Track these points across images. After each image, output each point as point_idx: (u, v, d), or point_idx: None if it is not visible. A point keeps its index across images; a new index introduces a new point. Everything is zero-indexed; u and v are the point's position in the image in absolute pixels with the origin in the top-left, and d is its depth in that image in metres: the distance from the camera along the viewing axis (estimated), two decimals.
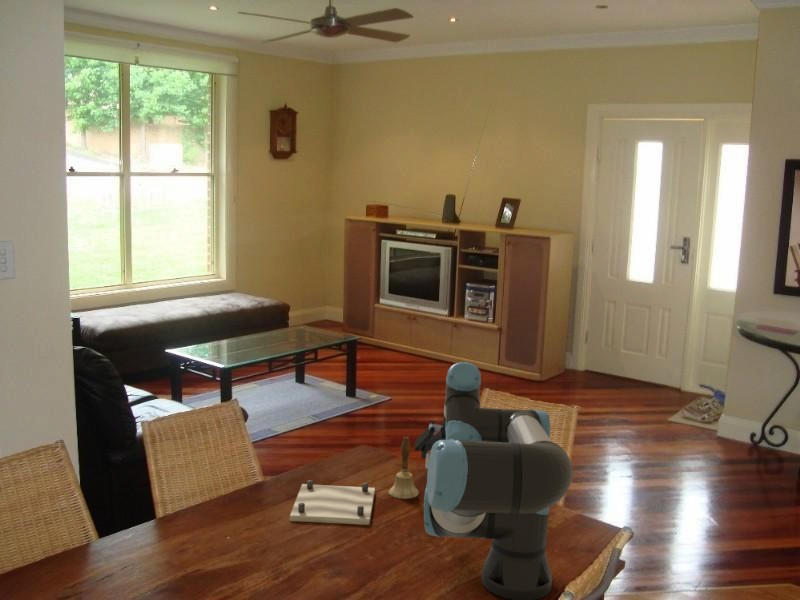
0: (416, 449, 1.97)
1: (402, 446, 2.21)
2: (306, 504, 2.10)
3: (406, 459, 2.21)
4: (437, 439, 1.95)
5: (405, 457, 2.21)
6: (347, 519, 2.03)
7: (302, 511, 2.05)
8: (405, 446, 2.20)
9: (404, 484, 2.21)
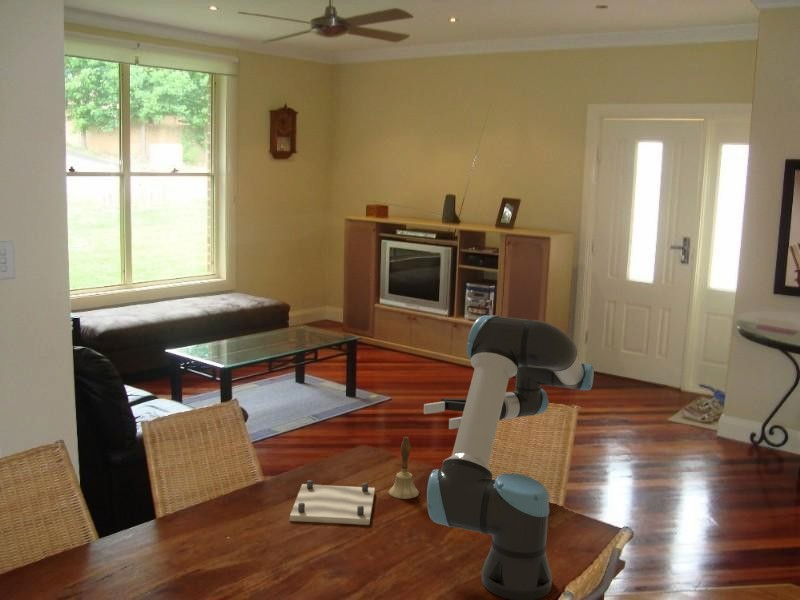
0: (443, 398, 2.36)
1: (402, 446, 2.21)
2: (306, 504, 2.10)
3: (406, 459, 2.21)
4: None
5: (405, 457, 2.21)
6: (347, 519, 2.03)
7: (302, 511, 2.05)
8: (405, 446, 2.20)
9: (404, 484, 2.21)
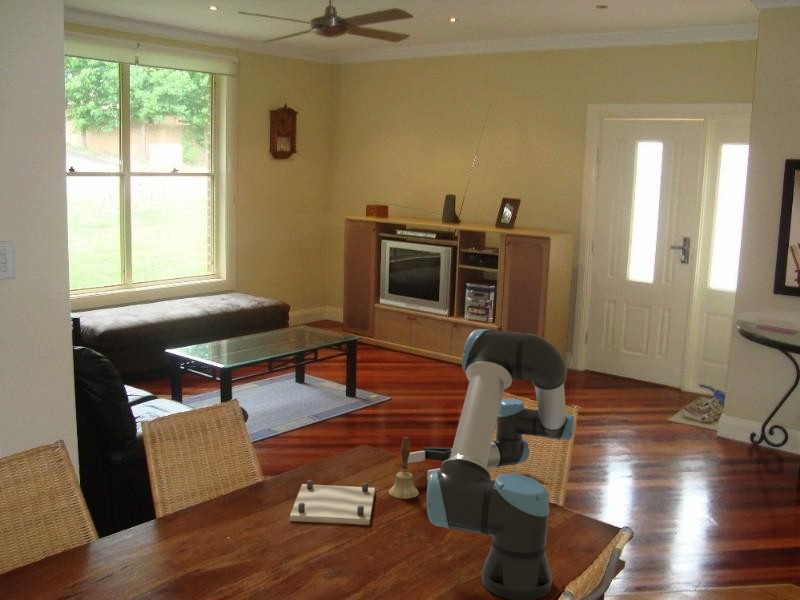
0: (424, 447, 2.36)
1: (402, 446, 2.21)
2: (306, 504, 2.10)
3: (406, 459, 2.21)
4: None
5: (405, 457, 2.21)
6: (347, 519, 2.03)
7: (302, 511, 2.05)
8: (405, 446, 2.20)
9: (404, 484, 2.21)
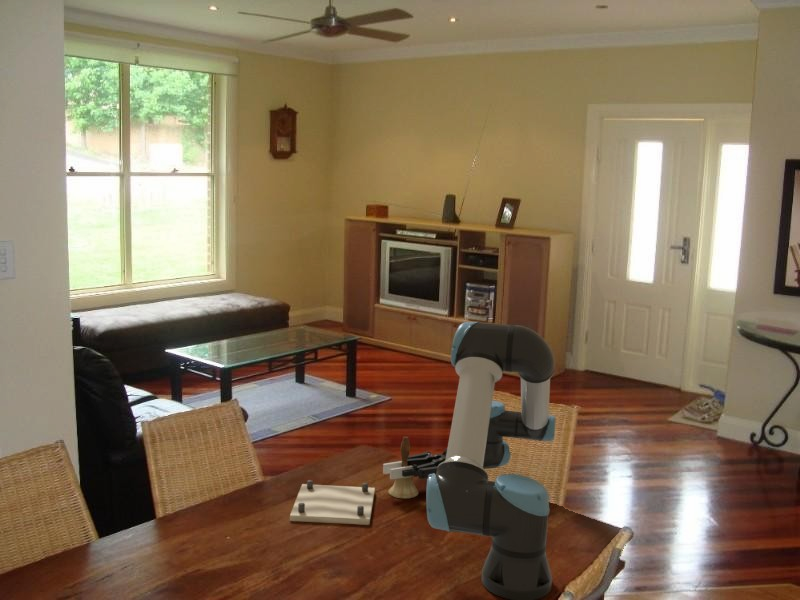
0: None
1: (402, 446, 2.21)
2: (306, 504, 2.10)
3: (406, 459, 2.21)
4: None
5: (405, 457, 2.21)
6: (347, 519, 2.03)
7: (302, 511, 2.05)
8: (404, 446, 2.20)
9: (404, 484, 2.21)
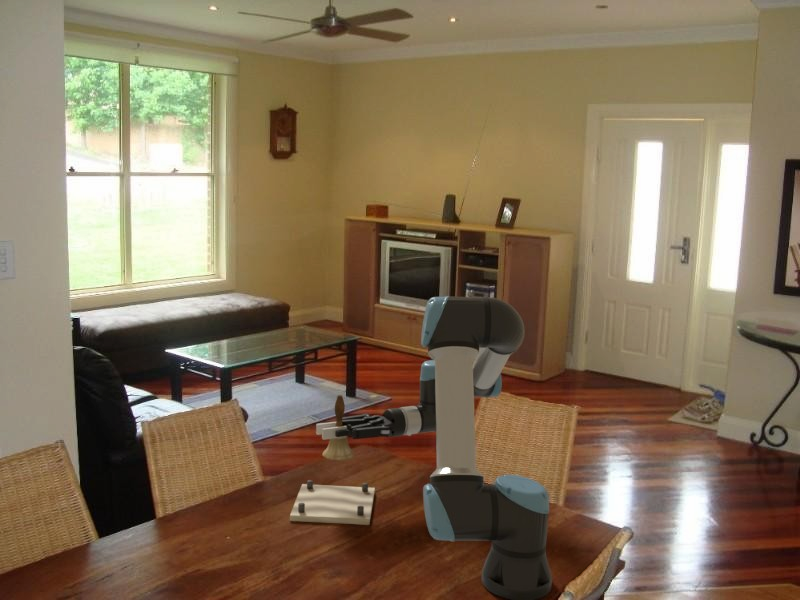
0: None
1: (335, 405, 2.09)
2: (306, 504, 2.10)
3: (340, 419, 2.10)
4: None
5: (339, 416, 2.09)
6: (347, 519, 2.03)
7: (302, 511, 2.05)
8: (338, 405, 2.09)
9: (338, 445, 2.09)
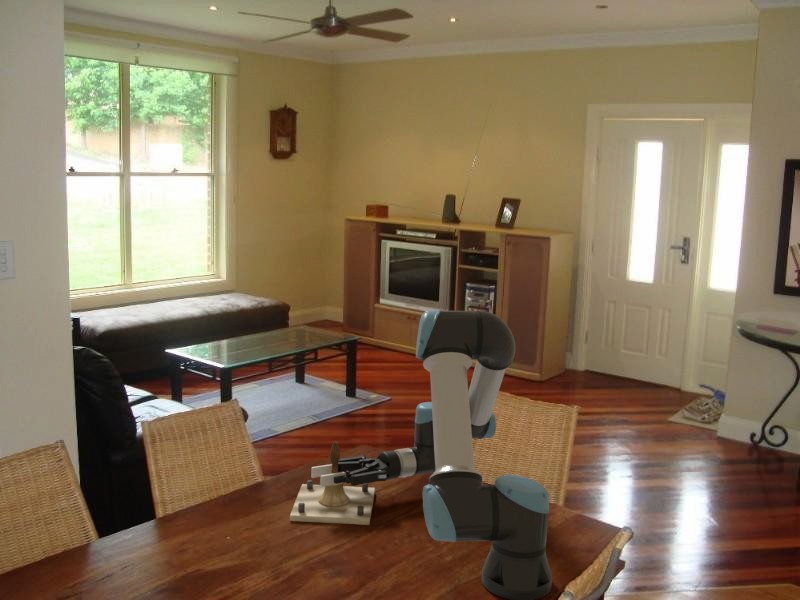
0: None
1: (331, 451, 2.10)
2: (306, 504, 2.10)
3: (336, 465, 2.11)
4: None
5: (334, 463, 2.11)
6: (347, 519, 2.03)
7: (302, 511, 2.05)
8: (334, 451, 2.10)
9: (333, 491, 2.10)
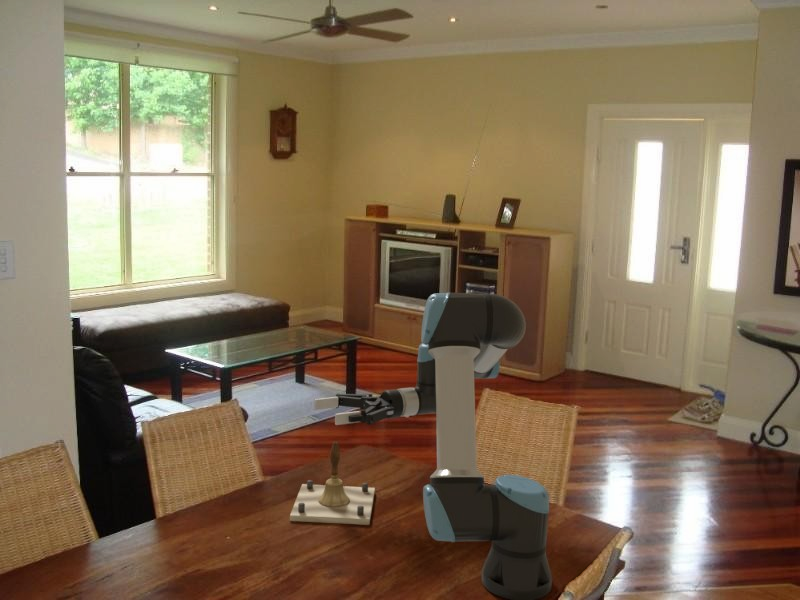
0: None
1: (331, 451, 2.10)
2: (306, 504, 2.10)
3: (336, 465, 2.11)
4: None
5: (334, 463, 2.11)
6: (347, 519, 2.03)
7: (302, 511, 2.05)
8: (334, 451, 2.10)
9: (333, 491, 2.10)
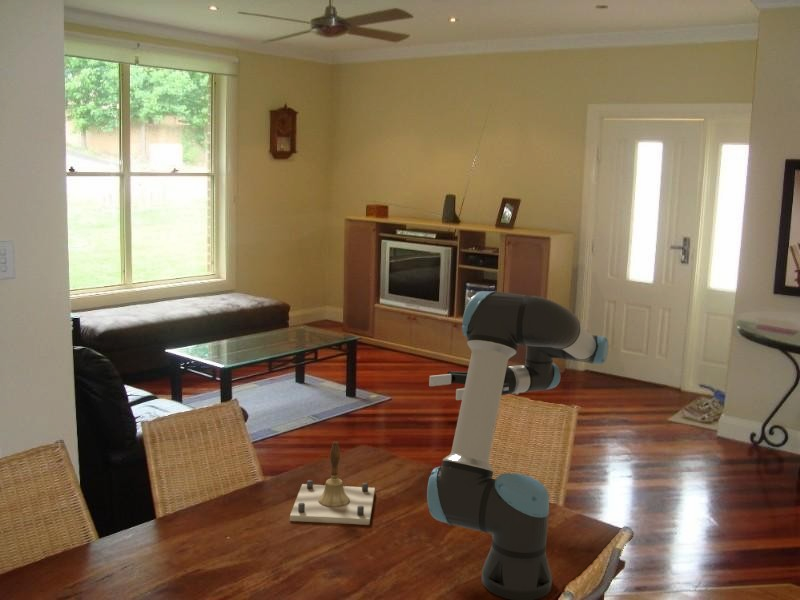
0: (449, 371, 2.24)
1: (331, 451, 2.10)
2: (306, 504, 2.10)
3: (336, 465, 2.11)
4: None
5: (334, 463, 2.11)
6: (347, 519, 2.03)
7: (302, 511, 2.05)
8: (334, 451, 2.10)
9: (333, 491, 2.10)
